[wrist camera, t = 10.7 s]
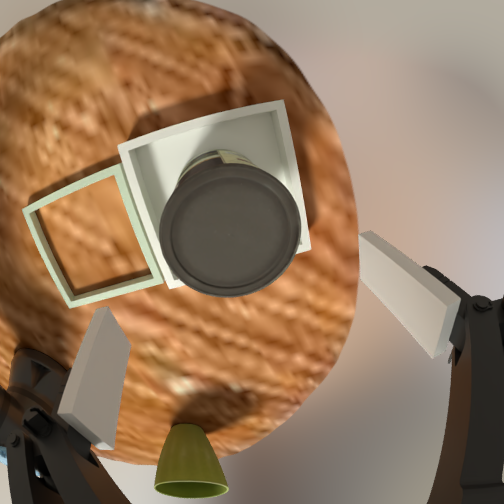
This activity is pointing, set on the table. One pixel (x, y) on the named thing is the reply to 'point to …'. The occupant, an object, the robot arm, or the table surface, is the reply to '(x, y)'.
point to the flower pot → (189, 465)
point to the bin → (201, 140)
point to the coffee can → (228, 226)
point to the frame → (137, 225)
